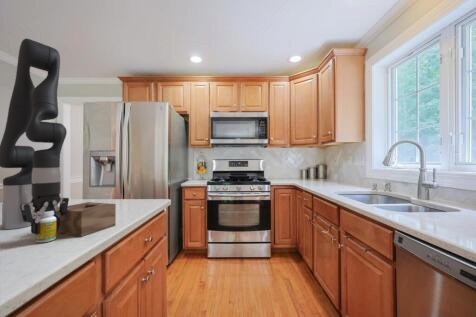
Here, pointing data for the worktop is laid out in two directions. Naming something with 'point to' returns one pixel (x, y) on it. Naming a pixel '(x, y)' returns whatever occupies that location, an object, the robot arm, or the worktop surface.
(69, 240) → the worktop surface
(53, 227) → the supplement bottle
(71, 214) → the socket block
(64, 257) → the worktop surface
